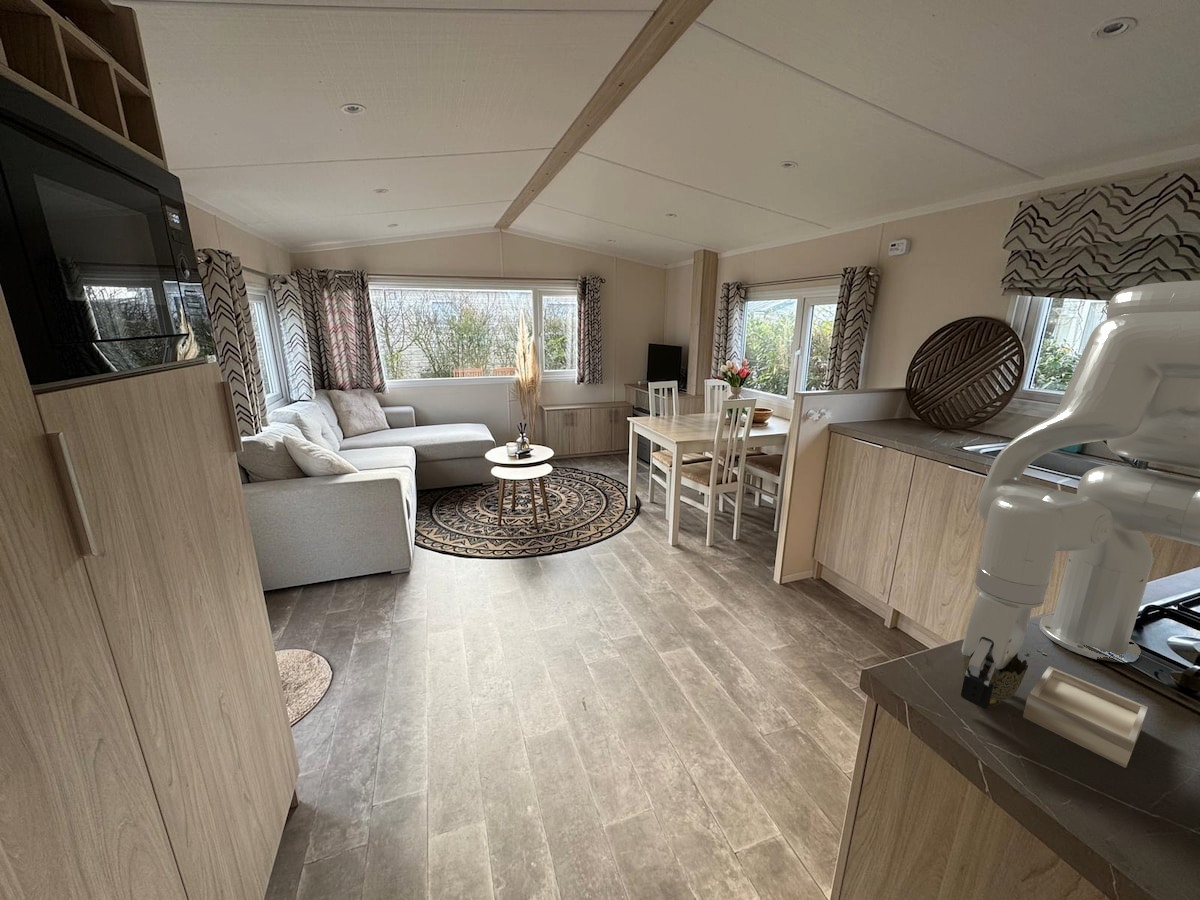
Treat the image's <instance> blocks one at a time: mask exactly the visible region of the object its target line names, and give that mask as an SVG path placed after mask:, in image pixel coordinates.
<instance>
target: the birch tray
mask: <svg viewBox="0 0 1200 900" xmlns="http://www.w3.org/2000/svg"><path fill="white" fill-rule="evenodd" d="M1148 708H1149V706H1146V705H1144V704H1142V703H1138V702H1137V701H1135V700H1132V699H1130V698H1128V697H1124V696H1122V695H1120V694H1118V693H1115V692H1113V691H1110V690H1108V689H1105V688H1103V687H1100V686H1098V685H1097V684H1094V683H1091V682H1088V681H1087V680H1084V679H1082V678H1080V677H1077V676H1074V675H1072V674H1070V673H1067V672H1064V671H1062V670H1060V669H1057V668H1055V667H1052V666H1050V665H1048V667H1047V668H1046V670H1045V671H1044V672H1043V674H1042V676H1041V677H1040V678H1039V680H1038V681H1037V682H1036V683H1035V685H1034V687H1033V688H1032V689H1031V691H1030V692H1029V694H1028V695H1027V698H1026V702H1025V707H1024V711H1023V715H1022V718H1023V719H1026V720H1028V721H1030V722H1032V723H1034V724H1036V725H1038V726H1040V727H1042V728H1044V729H1046V730H1048V731H1050V732H1053V733H1054V734H1056V735H1058V736H1060V737H1062V738H1064V739H1067V740H1068V741H1070V742H1072V743H1074V744H1075V745H1078V746H1080V747H1082V748H1084V749H1086V750H1088V751H1090V752H1092V753H1094V754H1095V755H1098V756H1100V757H1102V758H1104V759H1107V760H1108V761H1110V762H1113V764H1117V765H1118V766H1120V767H1122V768H1124V769H1127V768H1128V764H1129V761H1130V759H1131V756H1132V754H1133V752H1134V749H1135V746H1136V744H1137V741H1138V738H1139V736H1140V732H1141V731H1142V727H1143V724H1144V721H1145V718H1146V716H1147V711H1148V710H1149V709H1148Z"/></svg>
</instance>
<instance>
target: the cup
mask: <svg viewBox="0 0 1200 900" xmlns="http://www.w3.org/2000/svg"><path fill="white" fill-rule="evenodd" d="M963 642H964V640H963V641H962V643H963ZM973 653H974V652H973ZM973 653H972V654H971V655H970V656H967V655H963V653H962V652H961V674H962V676H963V678H962V679H964V677H965V673H966V670H967V668H968V665H969V662H970V659H971V657H972V656H973ZM1018 654H1019V652H1017V654H1016V655H1015V656H1014V657H1013V658H1012V660H1011V661H1010V662H1009V663H1008V664H1007V665H1006V666H1005V667H1004V668H1003V669H997V670H996V672H995V675H994V677H993V680H992V682H991V684H993V685H994V687H993V691H992V695H991V700H990V704H989V707H993V708H994V707H997V706H999V705H1000V704H1001V703H1002V701H1004V700H1008V699H1011V698H1012V697H1013V696H1014V695H1015V694H1017V693H1016V692H1017V691H1018V689H1019V688H1020V686H1021V683H1022V681H1023V679H1024V676H1025V674H1026V672H1027V670H1028V668H1029V665H1028V662H1027V660H1026V659H1024V660H1023V661H1022V660H1021V659H1019V657H1018ZM986 660H988V661H990V662H992V663H994V660H993V659H992V658H990V657H987V659H986ZM989 669H990V667H988V666H986V665H984V666H983V671H985V673H986V675H987V674H988V671H989Z"/></svg>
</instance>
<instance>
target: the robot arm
mask: <svg viewBox="0 0 1200 900" xmlns="http://www.w3.org/2000/svg"><path fill="white" fill-rule="evenodd" d="M1102 441H1103V442H1104V441H1106V446H1107V448H1108V449H1109V450H1110V452H1112V453H1114V454H1115V455H1117V456H1120V457H1124V458H1127V459H1132V460H1135V461H1136V460H1137V461H1141V462H1142V461H1143V462H1148V463H1151V464H1152V463H1153V464H1159V465H1164V466H1170V467H1176V468H1182V469H1187V470H1194V471H1198V472H1199V473H1200V279H1199V280H1181V281H1178V280H1177V281H1168V282H1167V281H1165V282H1154V283H1146V284H1141V285H1136V286H1130V287H1128V288H1124V289H1122V290H1120V291H1119V292H1117V293H1115V294H1113V296H1112V297H1111V299H1110V300H1109V303H1108V305H1107V309H1106V320H1105V319H1104V321H1101V323H1100V324H1099V323H1098V324H1097V326H1096V327H1095V328H1094V329H1093V331H1092V332H1091V333H1090V336H1089V337H1088V340H1087V342H1086V344H1085V347H1084V348H1083V351H1082V353H1081V355H1080V358H1079V360H1078V362H1077V364H1076V367H1075V369H1074V372H1073V373H1072V376H1071V378H1070V380H1069V383H1068V385H1067V387H1066V389H1065V392H1064V394H1063V396H1062V397H1061V400H1060V403H1059V406H1058V407H1057V409H1056V411H1055V412H1054V413H1053V415H1051V416H1050V417H1049V418H1047V419H1045V420H1043V421H1040V422H1039V423H1037V424H1034V425H1033V426H1032V427H1029V428H1028V429H1027V430H1025V431H1023V432H1022V433H1020V434H1019V435H1017V436H1016V437H1015V438H1014V439H1012V440H1011V441H1010V442H1009V443H1008V444H1006V445H1005V446H1004V447H1003V448H1002V449H1001V450H1000V451H999V453H998V454H997V455H996V457H995V458H994V460H993V462H992V464H991V467H990V468H989V471H988V473H987V476H986V478H985V479H984V482H983V484H982V487H981V489H980V492H979V495H978V498H977V499H978V500H977V511H978V513H979V515H980V517H981V518H982V519H983V520H984V521H985V522H986V526H985V530H984V531H985V532H984V535H983V541H982V545H981V550H980V556H979V561H978V565H977V570H976V574H975V579H974V584H973V585H974V588H975V590H977V591H978V593H977V594H978V595H977V597H976V599H975V600H974V603H973V607H972V610H971V613H970V617H969V620H968V623H967V627H966V630H965V635H964V637H963V638H964V639H963V641H964V642H963V641H962V646H961V654H962V653H963V655H967V656H970V655H971V654H972V653H973V652H974V653H973V656H972V657H971V659H970V662H969V665H968V668H967V670H966V673H965V677H964V678H963V682H962V686H961V687H962V688H961V691H960V692H961V693H960V697H961V698H962V699H964V700H966V701H968V702H970V703H972V704H974V705H975V706H977V707H980V708H981V709H983V710H988V709H989V708H990V706H989V704H990V700H991V695H992V691H993V687H994V685H993V684H991V682H992V680H993V677H994V675H995V672H996V670H997V669H1003V668H1004V667H1005V666H1006V665H1007V664H1008V663H1009V662H1010V661H1011V660H1012V658H1013V657H1014V656H1015V655H1016V654H1017V653H1019V651H1020V649H1021V648H1022V646H1023V643H1024V641H1025V637H1026V634H1027V631H1028V629H1029V623H1030V619H1031V614H1032V609H1035V608H1040V607H1042V606H1043V605H1044V602H1045V600H1046V599H1045V598H1046V596H1047V595H1046V594H1047V591H1048V586H1049V582H1050V577H1051V574H1052V569H1053V565H1054V562H1055V558H1056V554H1057V552H1062V551H1063V552H1065V551H1066V552H1067V551H1069V554H1068V558H1067V561H1066V567H1065V571H1064V574H1063V579H1062V582H1061V586H1060V589H1059V594H1058V597H1057V598H1058V599H1057V602H1056V605H1055V610H1054V614H1047V615H1048V616H1047V615H1044V616H1042V617H1041V619H1040V621H1039V629H1040V631H1041V632H1042V633H1043V634H1044V636H1046V638H1048V639H1049V640H1051V641H1053V642H1054V643H1055V644H1057V645H1059V646H1061V647H1062V648H1064V649H1067V650H1068V651H1071V652H1074V653H1076V654H1078V655H1082V656H1084V657H1087V658H1090V659H1092V660H1093V659H1094V660H1097V657H1099V658H1100V657H1101V658H1103V657H1108V658H1109V657H1110V658H1112V657H1113V658H1117V657H1115V656H1112V657H1111V656H1105V655H1103V654H1099V653H1096V652H1094V651H1091V650H1089V649H1088V648H1086V647H1084V646H1083V645H1085V646H1086V645H1087V646H1091V647H1095V648H1098V649H1100V650H1103V651H1107V652H1109V653H1110V652H1112V653H1114V654H1116V655H1119V657H1121V658H1123V657H1124V656H1122V655H1120V654H1124V653H1125V654H1126V651H1127V652H1128V653H1130V654H1132V655H1134V656H1136V657H1137V654H1138V655H1139V654H1140V653H1141V654H1142V652H1141V651H1142V650H1141V648H1140V646H1139V645H1138V644H1137V643H1136V642H1135V641H1134V640H1133V639H1132V638H1131V637H1132V636H1133V635H1132V634H1133V631H1134V629H1135V625H1136V620H1137V618H1138V614H1139V612H1140V611H1139V610H1140V608H1141V606H1142V605H1141V604H1142V601H1143V598H1144V594H1145V590H1146V589H1147V584H1148V581H1149V577H1150V574H1151V572H1152V568H1153V564H1154V554H1153V550H1152V547H1151V546H1150V544H1149V542H1148V540H1147V538H1146V537H1145V535H1144V533H1147V534H1151V535H1155V536H1159V537H1162V538H1166V539H1171V540H1174V541H1178V542H1182V543H1186V544H1190V545H1195V546H1199V547H1200V479H1196V478H1192V477H1191V478H1190V477H1186V476H1184V477H1183V476H1180V475H1179V476H1178V475H1174V474H1168V473H1164V472H1160V471H1154V470H1147V469H1142V468H1137V467H1136V468H1135V467H1131V466H1124V465H1123V466H1122V465H1101V466H1097V467H1093V468H1092V469H1089V470H1087V471H1086V472H1085V473H1084V474H1083V475H1082V477H1081V478H1080V479H1079V481H1078V485H1077V488H1076V493H1073V492H1068V491H1063V490H1059V489H1056V488H1052V487H1048V486H1044V485H1039V484H1035V483H1030V482H1026V481H1021V477H1022V475H1024V472H1025V470H1026V469H1027V468H1028V467H1029V466H1030V465H1031V463H1033V462H1034V461H1035V460H1037V459H1039V458H1041V457H1042V456H1044V455H1045V454H1048V453H1050V452H1053V451H1056V450H1060V449H1062V448H1067V447H1071V446H1075V445H1082V444H1088V443H1095V442H1102ZM1129 642H1132V643H1134V644H1129ZM1129 645H1132V646H1129ZM1128 646H1129V647H1128ZM1135 653H1136V654H1135ZM987 657H990V658H992V659H993V660H994V663H992V662H990V661H988V660H986V659H987ZM1130 657H1132V658H1133V656H1131V655H1130ZM984 665H986V666H988V667H990V669H989V671H988V674H987V675H986V673H985V671H983V666H984Z"/></svg>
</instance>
